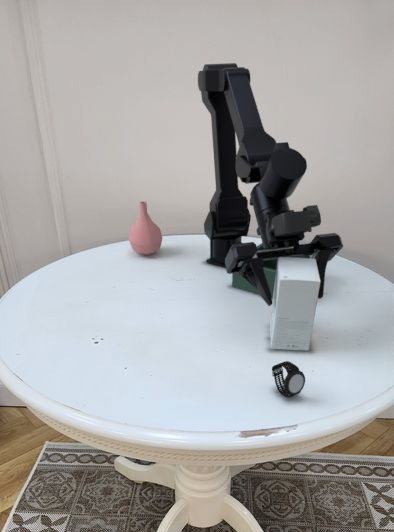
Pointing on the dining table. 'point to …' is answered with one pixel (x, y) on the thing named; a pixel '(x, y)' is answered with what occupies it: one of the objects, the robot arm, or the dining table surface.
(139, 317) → the dining table surface
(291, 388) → the smartwatch
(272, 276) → the green storage bin
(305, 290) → the small box
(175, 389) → the dining table surface
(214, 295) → the dining table surface
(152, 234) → the pink vase
